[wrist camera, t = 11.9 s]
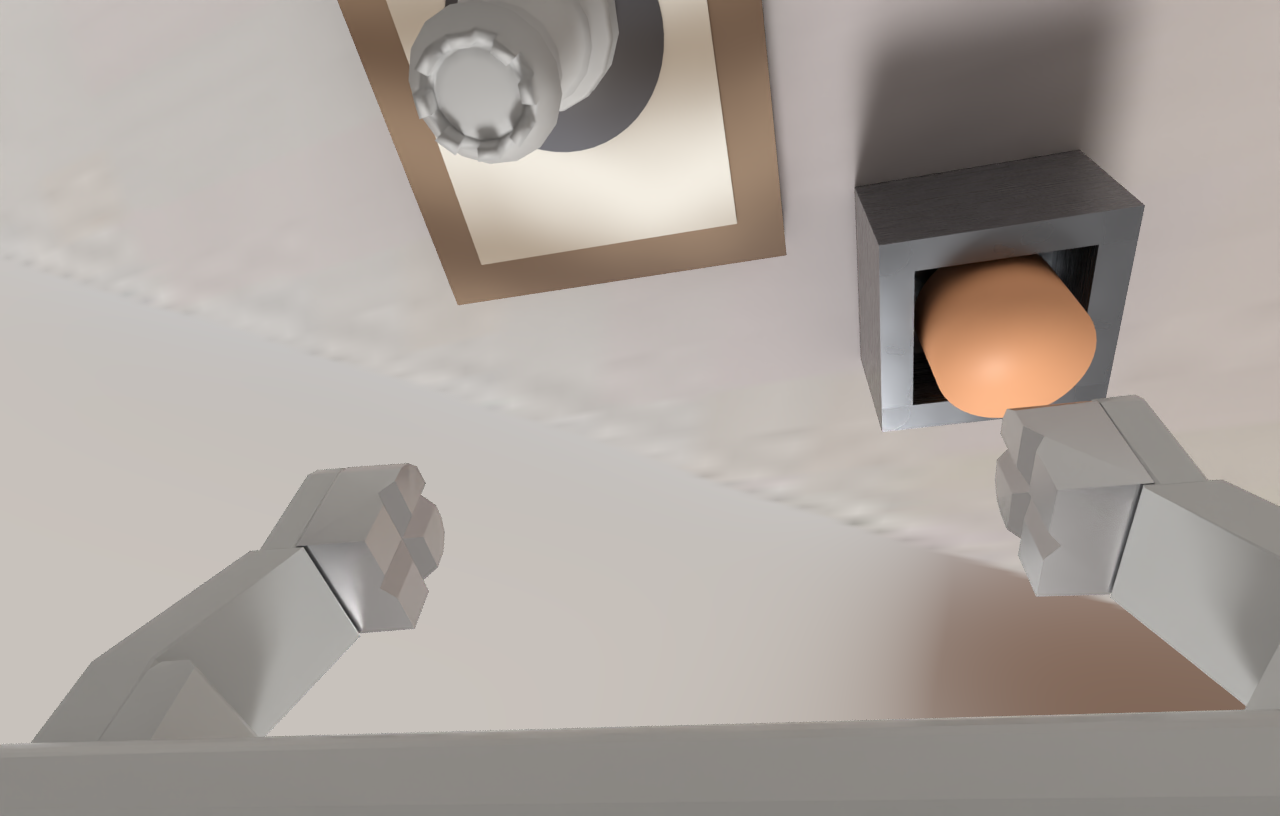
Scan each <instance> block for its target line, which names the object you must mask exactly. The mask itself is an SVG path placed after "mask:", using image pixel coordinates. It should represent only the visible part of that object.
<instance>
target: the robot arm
mask: <svg viewBox="0 0 1280 816" xmlns="http://www.w3.org/2000/svg"><path fill="white" fill-rule="evenodd" d="M1000 434H1001V436H1002V438H1003V440H1004V442H1005V444H1006V446H1007V448H1008V449H1007V450H1006V451H1005V452H1004V453H1003V454H1002V455H1001V456H1000V457H999V458H998V459H997V465H996V475H995V484H996V495H997V502H998V505H999V509H1000V513H1001V516H1002V518H1003V521H1004V523H1005V526H1006V528H1007V530H1009V531H1010V532H1012V533H1013V534H1015V535H1016V536H1018V537H1019V538H1021V541H1020V547H1019V554H1018V556H1019V558H1020V561H1021V563H1022V565H1023V567H1024V570H1025V572H1026V574H1027V577H1028V579H1029V581H1030V583H1031V586H1032V588H1033V590H1034V592H1035V594H1036V596H1067V595H1105V594H1111V597H1110V598H1111V599H1113V600H1114V601H1115V602H1116V603H1118V604H1119V605H1120V606H1122V607H1123V608H1124V609H1125V610H1127V611H1128V612H1129V613H1130V614H1132V615H1133V616H1134V617H1135V618H1137V619H1138V620H1139V621H1140V622H1142V623H1143V624H1144V625H1145V626H1147V627H1148V628H1149V629H1151V630H1152V631H1153V632H1154V633H1155V634H1157V635H1158V636H1159V637H1160V638H1162V639H1163V640H1164V641H1165V642H1167V643H1168V644H1169V645H1170V646H1172V647H1173V648H1174V649H1176V650H1177V651H1178V652H1179V653H1180V654H1182V655H1183V656H1184V657H1185V658H1187V659H1188V660H1189V661H1190V662H1192V663H1193V664H1194V665H1195V666H1197V667H1198V668H1199V669H1200V670H1202V671H1203V672H1204V673H1205V674H1207V675H1208V676H1209V677H1210V678H1212V679H1213V680H1214V681H1216V682H1217V683H1218V684H1219V685H1221V686H1222V687H1223V688H1224V689H1226V690H1227V691H1228V692H1229V693H1231V694H1232V695H1233V696H1234V697H1236V698H1237V699H1238V700H1239V701H1241V702H1242V703H1243V704H1244V705H1246V708H1245V710H1222V711H1185V712H1147V713H1110V714H1075V715H1074V714H1073V715H1035V716H999V717H963V718H929V719H895V720H894V719H892V720H860V721H859V720H857V721H823V722H822V721H821V722H786V723H750V724H713V725H678V726H676V725H675V726H640V727H639V726H638V727H604V728H603V727H601V728H563V729H530V730H529V729H528V730H527V729H526V730H490V731H455V732H454V731H453V732H417V733H381V734H348V735H346V734H344V735H312V736H311V735H309V736H274V737H273V736H272V737H265V736H266V735H267V734H268V733H269V732H270V731H271V730H272V729H273V728H274V727H275V726H276V725H277V723H278V722H279V721H280V720H281V719H282V718H283V717H284V716H285V715H286V714H287V713H288V712H289V711H290V710H291V709H292V708H293V707H294V706H295V705H296V703H297V702H298V701H299V700H300V699H301V698H302V697H303V696H304V695H305V694H306V693H307V692H308V691H309V690H310V689H311V688H312V686H314V684H315V683H316V682H317V681H318V680H319V679H320V678H321V677H322V676H323V675H324V674H325V673H326V672H327V671H328V670H329V669H330V668H331V667H332V665H333V664H334V663H335V662H336V661H337V660H338V659H339V658H340V657H341V656H342V655H343V654H344V653H345V652H346V650H348V649H349V647H350V646H351V645H352V644H353V643H354V642H355V641H356V640H357V639H358V638H359V637H360V634H359V633H368V632H380V631H392V630H405V629H414V628H415V627H416V624H417V621H418V618H419V616H420V613H421V611H422V608H423V605H424V603H425V600H426V597H427V595H428V592H429V591H428V588H427V587H426V584H425V582H424V579H425V578H426V577H427V576H428V575H429V574H431V572H433V571H434V570H435V569H436V568H437V567H438V565H439V562H440V559H441V557H442V554H443V549H444V527H443V523H442V518H441V515H440V513H439V511H438V509H437V507H436V505H435V504H433V503H432V502H430V501H429V500H428V499H426V498H425V497H423V496H422V495H421V494H422V491H423V489H424V486H425V484H426V483H425V481H424V479H423V477H422V475H421V473H420V472H419V470H418V468H417V466H414V465H411V464H409V463H406V464H390V465H375V466H360V467H348V468H338V469H326V470H325V469H324V470H316V471H315V472H313V473H311V474H309V475H308V476H307V477H306V479H305V480H304V482H303V483H302V485H301V487H300V488H299V490H298V491H297V493H296V494H295V496H294V497H293V499H292V501H291V502H290V504H289V505H288V507H287V508H286V510H285V511H284V513H283V515H282V516H281V518H280V519H279V521H278V523H277V524H276V526H275V527H274V529H273V530H272V532H271V534H270V535H269V537H268V538H267V540H266V541H265V543H264V544H263V546H262V547H261V549H260V550H256V551H249V552H248V553H246V554H245V555H244V556H242V557H241V558H239V559H238V560H236V561H235V562H234V563H232V564H231V565H229V566H228V567H226V568H225V569H224V570H222V571H221V572H219V573H218V574H216V575H215V576H214V577H212V578H211V579H209V580H208V581H207V582H205V583H204V584H202V585H201V586H199V587H198V588H196V589H195V590H194V591H192V592H191V593H189V594H188V595H186V596H185V597H184V598H182V599H181V600H179V601H178V602H176V603H175V604H174V605H172V606H171V607H169V608H168V609H166V610H165V611H164V612H162V613H161V614H159V615H158V616H156V617H155V618H154V619H152V620H151V621H149V622H148V623H146V624H145V625H144V626H142V627H141V628H139V629H138V630H136V631H135V632H134V633H132V634H131V635H129V636H128V637H126V638H125V639H124V640H122V641H121V642H119V643H118V644H117V645H115V646H114V647H112V648H111V649H109V650H108V651H107V652H105V653H104V654H102V655H101V656H99V657H98V658H96V659H95V660H94V661H92V662H91V664H90V665H89V666H88V667H87V669H86V670H85V672H84V673H83V674H82V675H81V677H80V678H79V679H78V681H77V682H76V683H75V685H74V686H73V687H72V689H71V690H70V692H69V693H68V694H67V695H66V697H65V698H64V699H63V701H62V702H61V703H60V705H59V706H58V708H57V709H56V710H55V711H54V713H53V714H52V715H51V717H50V718H49V719H48V721H47V722H46V723H45V725H44V726H43V727H42V729H41V730H40V731H39V732H38V734H37V735H36V736H35V738H34V739H33V740H32V742H31V743H18V744H0V816H1280V506H1278V505H1275V504H1273V503H1271V502H1269V501H1267V500H1265V499H1263V498H1261V497H1258V496H1256V495H1254V494H1252V493H1250V492H1248V491H1246V490H1244V489H1241V488H1239V487H1237V486H1235V485H1233V484H1231V483H1229V482H1227V481H1224V480H1210V481H1209V480H1208V479H1207V478H1206V476H1205V475H1204V474H1203V473H1202V471H1201V470H1200V469H1199V468H1198V466H1197V465H1196V464H1195V463H1194V461H1193V460H1192V459H1191V458H1190V456H1189V455H1188V454H1187V453H1186V451H1185V450H1184V449H1183V447H1182V446H1181V445H1180V444H1179V442H1178V441H1177V440H1176V439H1175V437H1174V436H1173V435H1172V434H1171V432H1170V431H1169V430H1168V429H1167V427H1166V426H1165V425H1164V423H1163V422H1162V421H1161V420H1160V418H1159V417H1158V416H1157V415H1156V413H1155V412H1154V411H1153V410H1152V408H1151V407H1150V406H1149V405H1148V403H1147V402H1146V401H1145V400H1144V399H1143V398H1141V397H1139V396H1137V395H1128V396H1119V397H1110V398H1101V399H1093V400H1091V401H1083V402H1073V403H1062V404H1052V405H1042V406H1031V407H1021V408H1011V409H1007V410H1006V412H1005V414H1004V417H1003V420H1002V427H1001V433H1000Z"/></svg>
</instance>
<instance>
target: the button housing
mask: <svg viewBox="0 0 1280 816" xmlns="http://www.w3.org/2000/svg"><path fill="white" fill-rule="evenodd" d="M1144 206H1145V205H1144V204H1143V203H1141V202H1140V201H1139V200H1138V199H1137V198H1136V197H1134V196H1133V195H1132V194H1131V193H1130V192H1128V191H1127V190H1126V189H1125V188H1124V187H1123V186H1121V185H1120V184H1119V183H1118V182H1117V181H1116V180H1114V179H1113V178H1112V177H1111V176H1110V175H1108V174H1107V173H1106V172H1105V171H1104V170H1103V169H1101V168H1100V167H1099V166H1098V165H1097V164H1096V163H1094V162H1093V161H1092V160H1091V159H1090V158H1088V157H1087V156H1086V155H1085V154H1084V153H1083V152H1081V151H1080V150H1077V151H1071V152H1065V153H1059V154H1053V155H1047V156H1041V157H1035V158H1029V159H1023V160H1017V161H1011V162H1005V163H999V164H993V165H987V166H981V167H975V168H969V169H963V170H957V171H951V172H945V173H939V174H933V175H927V176H921V177H914V178H908V179H902V180H896V181H890V182H884V183H878V184H872V185H866V186H860V187H855V210H856V238H857V265H858V293H859V321H860V348H861V361H862V365H863V368H864V371H865V375H866V378H867V382H868V385H869V389H870V392H871V395H872V399H873V402H874V406H875V409H876V413H877V416H878V419H879V423H880V426H881V430H882V432H885V431H894V430H903V429H912V428H921V427H931V426H940V425H949V424H958V423H968V422H977V421H986V420H995V419H1003V418H988V417H981V416H976V415H972V414H969V413H967V412H964V411H962V410H960V409H959V408H957V407H955V406H954V405H953V404H951V403H950V402H949V401H948V400H947V399H946V398H945V397H944V395H943V394H942V392H941V391H940V389H939V386H938V384H937V382H936V379H935V377H934V375H933V372H932V370H931V367H930V365H929V363H928V360H927V358H926V355H925V353H924V351H923V348H922V346H921V343H920V341H919V339H918V336H917V334H916V331H915V328H914V307H915V302H916V300H917V297H918V295H919V292H920V291H921V289H922V287H923V285H924V284H925V283H926V281H927V280H928V279H929V278H930V276H931V275H932V274H933V273H934V272H935V271H936V270H937V269H938V268H940V267H947V266H954V265H961V264H968V263H975V262H982V261H989V260H996V259H1003V258H1010V257H1017V256H1024V255H1030V254H1038V255H1040V256H1041V257H1042V258H1043V259H1044V260H1045V261H1046V262H1047V263H1048V264H1049V265H1050V267H1051V268H1052V269H1053V270H1054V272H1055V273H1056V274H1057V275H1058V277H1059V278H1060V279H1061V280H1062V282H1063V283H1064V284H1065V285H1066V287H1067V288H1068V289H1069V291H1070V292H1071V293H1072V294H1073V296H1074V297H1075V298H1076V299H1077V301H1078V302H1079V303H1080V304H1081V306H1082V307H1083V308H1084V309H1085V311H1086V312H1087V313H1088V315H1089V316H1090V317H1091V319H1092V322H1093V324H1094V327H1095V330H1096V339H1097V342H1096V350H1095V354H1094V357H1093V359H1092V362H1091V364H1090V366H1089V368H1088V369H1087V371H1086V373H1085V374H1084V376H1083V377H1082V378H1081V379H1080V381H1079V382H1078V383H1077V384H1076V385H1075V386H1074V387H1073V388H1072V389H1071V390H1069V391H1068V392H1067V393H1066V394H1065V395H1063V396H1062V397H1060V398H1059V399H1058V400H1056V401H1054V402H1053V403H1051V404H1049V405H1052V404H1062V403H1073V402H1083V401H1091V400H1093V399H1101V398H1106V394H1107V389H1108V385H1109V380H1110V375H1111V370H1112V365H1113V360H1114V355H1115V350H1116V345H1117V340H1118V335H1119V330H1120V325H1121V320H1122V315H1123V310H1124V305H1125V300H1126V295H1127V290H1128V285H1129V280H1130V276H1131V271H1132V266H1133V261H1134V256H1135V251H1136V246H1137V241H1138V236H1139V231H1140V226H1141V221H1142V216H1143V211H1144Z"/></svg>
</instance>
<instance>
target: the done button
mask: <svg viewBox="0 0 1280 816" xmlns="http://www.w3.org/2000/svg"><path fill="white" fill-rule="evenodd" d="M914 328H915V331H916V334H917V336H918V339H919V341H920V343H921V346H922V348H923V351H924V353H925V355H926V358H927V360H928V363H929V365H930V367H931V370H932V372H933V375H934V377H935V379H936V382H937V384H938V386H939V389H940V391H941V392H942V394H943V395H944V397H945V398H946V399H947V400H948V401H949V402H950V403H951V404H953V405H954V406H955V407H957V408H959V409H960V410H962V411H964V412H967V413H969V414H972V415H976V416H981V417H988V418H1003V417H1004V414H1005V412H1006V410H1007V409H1011V408H1021V407H1031V406H1042V405H1049V404H1051V403H1053V402H1054V401H1056V400H1058V399H1059V398H1060V397H1062V396H1063V395H1065V394H1066V393H1067V392H1068V391H1069V390H1071V389H1072V388H1073V387H1074V386H1075V385H1076V384H1077V383H1078V382H1079V381H1080V379H1081V378H1082V377H1083V376H1084V374H1085V373H1086V371H1087V369H1088V368H1089V366H1090V364H1091V362H1092V359H1093V357H1094V354H1095V350H1096V342H1097V339H1096V330H1095V327H1094V324H1093V322H1092V319H1091V317H1090V316H1089V315H1088V313H1087V312H1086V311H1085V309H1084V308H1083V307H1082V306H1081V304H1080V303H1079V302H1078V301H1077V299H1076V298H1075V297H1074V296H1073V294H1072V293H1071V292H1070V291H1069V289H1068V288H1067V287H1066V285H1065V284H1064V283H1063V282H1062V280H1061V279H1060V278H1059V277H1058V275H1057V274H1056V273H1055V272H1054V270H1053V269H1052V268H1051V267H1050V265H1049V264H1048V263H1047V262H1046V261H1045V260H1044V259H1043V258H1042V257H1041V256H1040V255H1038V254H1030V255H1024V256H1017V257H1010V258H1003V259H996V260H989V261H982V262H975V263H968V264H961V265H954V266H947V267H940V268H938V269H937V270H936V271H935V272H934V273H933V274H932V275H931V276H930V278H929V279H928V280H927V281H926V283H925V284H924V285H923V287H922V289H921V291H920V292H919V295H918V297H917V300H916V302H915V307H914Z"/></svg>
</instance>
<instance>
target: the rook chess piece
mask: <svg viewBox="0 0 1280 816" xmlns="http://www.w3.org/2000/svg"><path fill="white" fill-rule="evenodd" d="M618 35H619V29H618V22H617V15H616V7H615V0H458V3H456V4H449V5H448V6H447V7H445V8H444V9H442V10H441V11H440V12H438V13H437V14H435V15H434V16H433V17H431V18H430V19H428V20H427V21H425V23H424V25H423V27H422V28H421V30H420V32H419V34H418V36H417V38H416V40H415V42H414V44H413V45H412V47H411V52H410V66H409V80H408V81H409V84H410V87H411V91H412V96H413V99H414V103H415V106H416V110H417V113H418V116H419V119H422V118H423V120H424V121H425V122H426V124H427V125H428V127H429V128H430V129H431V131H432V132H433V134H434V135H435V136H436V138H437V139H436V140H435V141H436V142H437V143H439V144H440V145H441V146H443V147H444V148H446V149H447V150H448V151H450V152H451V153H453V154H454V155H456V154H457V153H458V154H460V155H461V156H464V157H467V158H471V159H474V160H478V162H485V163H488V164H493V163H502V162H511V161H518V160H520V159H521V158H523V157H525V156H526V155H528V154H530V153H531V152H533V151H535V150H536V149H538V148H540V147H541V146H542V144H543V143H544V141H545V140H546V138H547V137H548V136H549V134H550V133H551V131H552V130H553V128H554V127H555V125H556V124H557V119H558V114H559V111H565V110H567V109H568V108H570V107H572V106H573V105H575V104H576V103H578V102H580V101H581V100H583V99H585V98H586V97H588V96H589V95H590V94H591V92H592V91H593V90H594V89H595V88H596V87H597V85H598V84H599V82H600V81H601V79H602V78H603V76H604V75H605V74H606V72H607V71H608V69H609V68H610V66H611V65H612V61H613V57H614V52H615V48H616V43H617V39H618Z"/></svg>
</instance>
